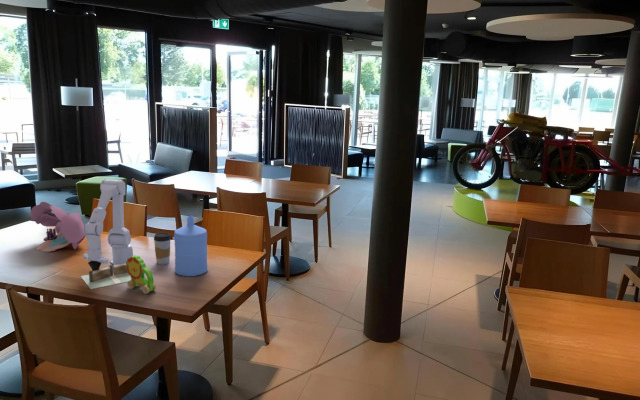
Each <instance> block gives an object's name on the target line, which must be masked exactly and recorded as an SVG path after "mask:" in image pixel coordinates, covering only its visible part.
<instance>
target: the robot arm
mask: <svg viewBox="0 0 640 400" xmlns="http://www.w3.org/2000/svg"><path fill="white" fill-rule="evenodd" d="M99 185H100V187H99V189H100V192H101V194H100V196H99V200H98V203H97V207H95V208H93V211H92V213H91V216H90V218H89V221H87V223H85V224H84V234H85V239H86V243H87V245H86V246H87V253H84V254H83V253H82V259H85V260H86V261H88V262H87V264H88V266H89V267H90V268H91V271H95V270H99V269H101V266H102V264H103V265H106V264H107V265H108V264H109V262H110V263H111V264H112V266H114V265H119V264H125V263H126V261H127V259H128V258H130V257H131V256H134V251H133V246H132V244H131V242H132V237H131V233H130V230H129V229H128V228H127V227H125V216H124V215H125V212H124V209H125V208H124V205H125V204H124V203H125V202H124V196H126V183H125V181H124V180H123V179H119V180H118V179H106V178H103V179H102V180H101V182H100V184H99ZM111 199H112V228H110V230H108V235H107V244H108V245H109V246H110V248H111V252H112V255H111V256H112V260H110V261H109V259H107V257H104V256H103V254H102V253H103V251H102V239H101V238H102V234H103V231H104V220H105V218H106V215H107V211H106V208H107V207H108V205H109V203H110V201H111Z"/></svg>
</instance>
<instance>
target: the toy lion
mask: <svg viewBox="0 0 640 400" xmlns="http://www.w3.org/2000/svg"><path fill="white" fill-rule="evenodd" d="M126 269H127V271H128V274H129V275H130V276H131V280H130V281H128V282H126V283H127V287H128V288H129V289H134V288H135V287H141V291H142V293H143V294H144V295H147V294H149V293H150V292H155V291H156V290H157V285H156V284H155V283H154V275H153V273H152V270H151V269H150V268H148V267H147V265H146V263H145V262H144V260H143V258H141V257H140V255H133V256H131V257H130V258H128V259H127V261H126ZM145 276H146V277H145Z"/></svg>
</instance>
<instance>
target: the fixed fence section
mask: <svg viewBox="0 0 640 400" xmlns="http://www.w3.org/2000/svg"><path fill="white" fill-rule="evenodd" d="M109 267H110V272H111V276H113V270H114V275H117V274H122V273H128V271H127V269H126V263H125V264H119V265H113V264H112V265H111V264H110V265H109Z"/></svg>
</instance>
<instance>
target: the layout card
mask: <svg viewBox="0 0 640 400" xmlns="http://www.w3.org/2000/svg"><path fill="white" fill-rule="evenodd" d="M80 278H81V279H82V280H83V282H84V283H85V285H87V287H88V288H89V289H90V290H95V289H100V288H104V287H110V286H113V285H119V284H123V283H124V284H125V283H128V281H130V280H131V276H130V275H129V274H128V273H122V274H117V275H114V269H113V276H109V277H106V278H102V279H99V280H96V281H93V282H90V281H89V274H85V275H80Z"/></svg>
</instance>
